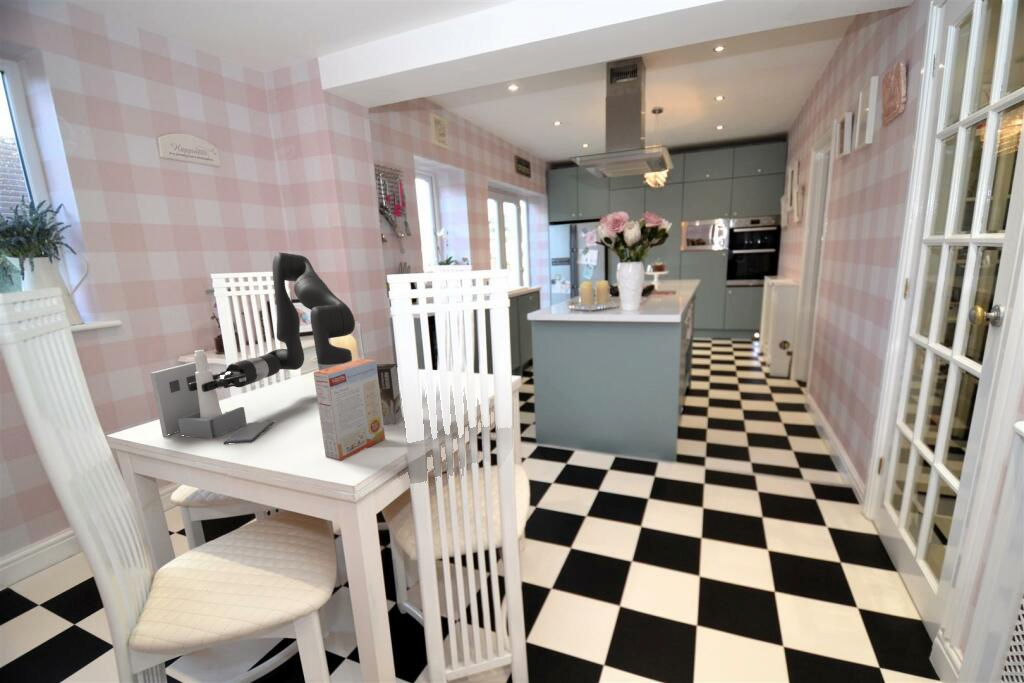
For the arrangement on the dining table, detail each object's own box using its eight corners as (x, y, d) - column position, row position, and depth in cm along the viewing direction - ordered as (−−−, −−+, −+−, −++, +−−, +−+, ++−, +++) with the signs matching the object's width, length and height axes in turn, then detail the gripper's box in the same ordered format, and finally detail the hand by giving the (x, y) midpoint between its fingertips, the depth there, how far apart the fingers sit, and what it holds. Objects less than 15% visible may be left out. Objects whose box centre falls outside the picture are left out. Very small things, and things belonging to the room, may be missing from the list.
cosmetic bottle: (229, 421, 130) (216, 347, 126) (219, 429, 124) (205, 351, 120) (207, 423, 130) (193, 349, 125) (196, 431, 124) (180, 353, 120)
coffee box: (403, 416, 131) (398, 363, 128) (397, 424, 125) (391, 368, 122) (372, 417, 131) (366, 364, 128) (364, 425, 125) (358, 369, 122)
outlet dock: (252, 421, 133) (242, 361, 130) (209, 439, 120) (197, 374, 117) (208, 418, 138) (198, 360, 134) (162, 435, 124) (150, 372, 121)
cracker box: (369, 435, 118) (361, 357, 114) (386, 439, 114) (378, 359, 111) (323, 457, 106) (312, 370, 102) (340, 461, 103) (329, 373, 99)
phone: (274, 424, 131) (274, 420, 131) (252, 444, 117) (251, 439, 117) (249, 426, 130) (248, 422, 130) (224, 446, 116) (223, 441, 116)
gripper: (227, 359, 139) (173, 374, 123) (265, 360, 136) (214, 375, 119) (231, 382, 141) (178, 400, 125) (268, 384, 137) (219, 402, 121)
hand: (196, 387), depth 122 cm, fingers open, 4 cm apart
